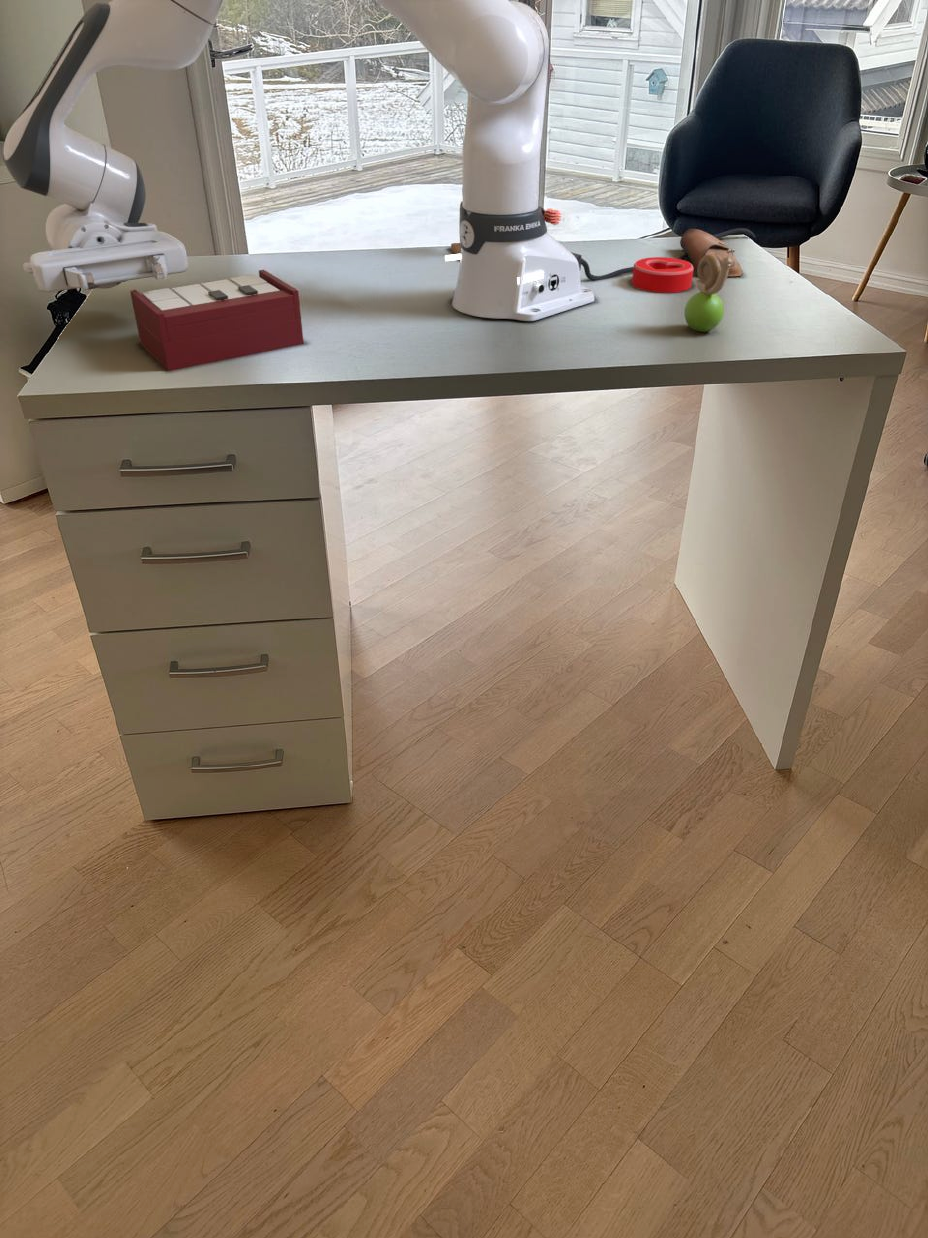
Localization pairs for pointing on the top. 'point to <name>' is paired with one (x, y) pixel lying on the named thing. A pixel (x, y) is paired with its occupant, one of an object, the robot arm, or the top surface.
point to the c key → (247, 280)
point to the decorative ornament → (662, 274)
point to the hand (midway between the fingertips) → (125, 277)
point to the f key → (159, 295)
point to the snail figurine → (708, 294)
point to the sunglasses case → (707, 249)
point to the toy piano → (219, 321)
